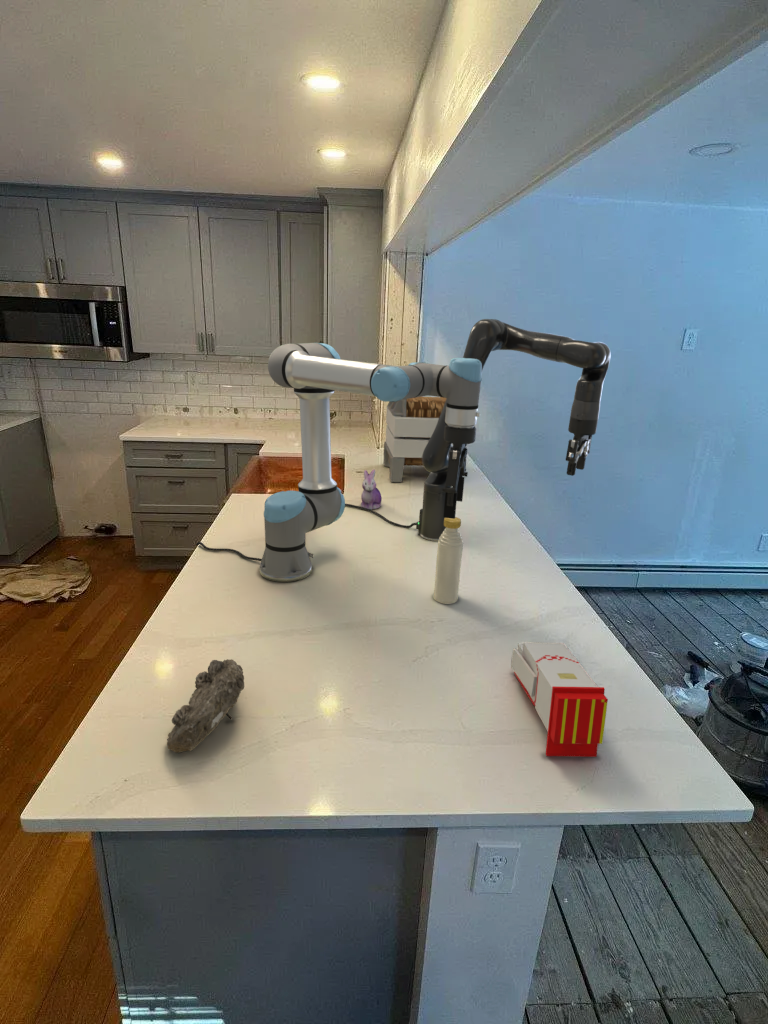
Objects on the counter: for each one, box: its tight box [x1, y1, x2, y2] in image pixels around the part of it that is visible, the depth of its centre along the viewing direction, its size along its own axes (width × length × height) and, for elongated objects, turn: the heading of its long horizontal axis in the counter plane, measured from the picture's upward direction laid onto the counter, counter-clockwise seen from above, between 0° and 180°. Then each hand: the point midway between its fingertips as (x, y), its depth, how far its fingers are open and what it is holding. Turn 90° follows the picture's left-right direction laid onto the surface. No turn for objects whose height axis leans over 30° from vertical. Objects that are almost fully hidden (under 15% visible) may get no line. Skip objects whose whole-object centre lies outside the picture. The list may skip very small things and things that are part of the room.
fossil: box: [166, 658, 245, 754], centre depth 106 cm, size 22×10×15 cm
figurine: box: [360, 468, 383, 510], centre depth 223 cm, size 9×10×15 cm
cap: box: [444, 516, 462, 529], centre depth 149 cm, size 4×4×2 cm
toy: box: [510, 641, 609, 758], centre depth 113 cm, size 12×13×30 cm
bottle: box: [433, 527, 464, 605], centre depth 153 cm, size 7×7×23 cm
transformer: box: [383, 396, 453, 483], centre depth 268 cm, size 34×33×41 cm
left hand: (453, 508), depth 143 cm, fingers open, 13 cm apart
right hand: (575, 472), depth 164 cm, fingers open, 8 cm apart
